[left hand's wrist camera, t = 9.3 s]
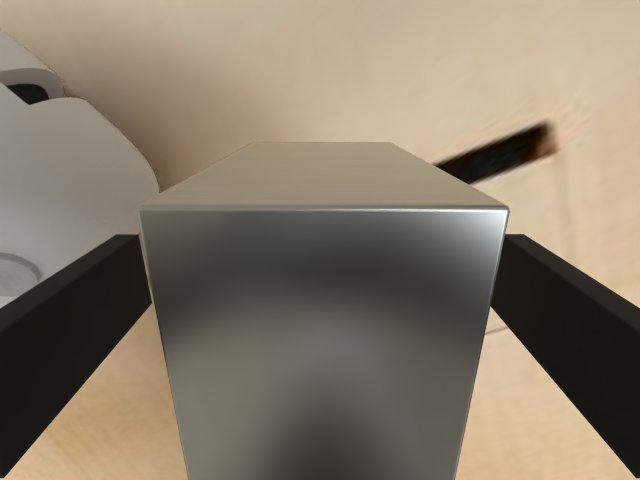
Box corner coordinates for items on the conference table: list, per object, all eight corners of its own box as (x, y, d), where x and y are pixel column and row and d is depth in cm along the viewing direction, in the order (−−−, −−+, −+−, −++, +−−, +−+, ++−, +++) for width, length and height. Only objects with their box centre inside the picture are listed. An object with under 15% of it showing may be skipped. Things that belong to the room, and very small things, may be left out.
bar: (251, 141, 13) (132, 205, 5) (392, 141, 13) (513, 206, 5) (277, 537, 22) (250, 805, 14) (362, 538, 22) (389, 806, 14)
